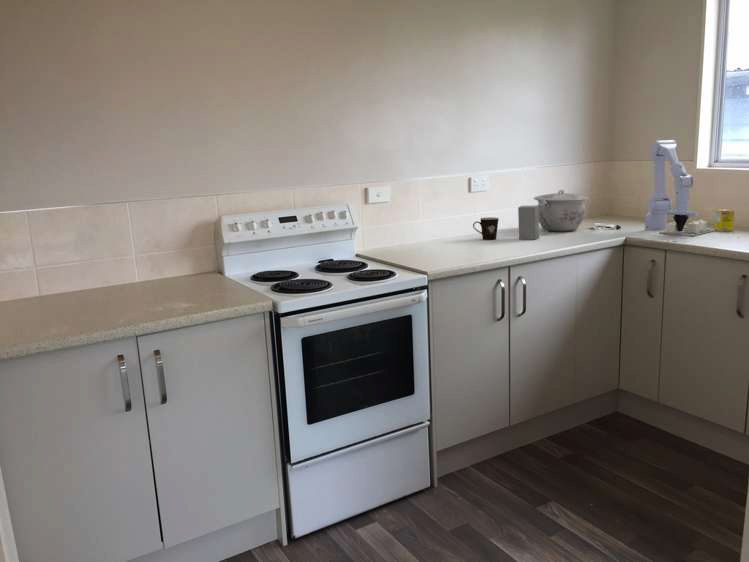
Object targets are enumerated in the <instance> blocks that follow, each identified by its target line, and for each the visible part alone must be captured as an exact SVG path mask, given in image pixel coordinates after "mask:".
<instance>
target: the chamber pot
mask: <svg viewBox="0 0 749 562" xmlns="http://www.w3.org/2000/svg"><path fill="white" fill-rule="evenodd" d="M589 198H590V197H589V196H587V195H583V194H576V193H568V192H565V191H564V189H560V190H558V192H557V193H556V192H555V193H546V194H543V195H537V196H534V197H533V200H534V201H537V202H538V203H537V205H538V216H539V226H540V227H541V228H542V229H544V230H546V231H549V232H557V233H558V232H561V233H562V232H566V233H567V232H572V231H574V230H577V229H579V227H580V226H581V224H582V223H583V221H584V220H585V216H586V212H587V211H586V205H585V203H584V202H585V201H586V200H589Z"/></svg>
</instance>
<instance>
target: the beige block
mask: <svg viewBox="0 0 749 562" xmlns="http://www.w3.org/2000/svg"><path fill="white" fill-rule="evenodd" d="M697 221H698V220H697ZM697 221H696V220H694V221H691V222H688V223H687V229H686V230H687V232H695V233H700V223H696V222H697Z"/></svg>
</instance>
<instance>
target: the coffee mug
mask: <svg viewBox="0 0 749 562" xmlns="http://www.w3.org/2000/svg"><path fill="white" fill-rule="evenodd" d="M499 219H500V218H499V217H493V216H491V217H489V216H488V217H487V216H486V217H481V218H480V221H474V222H473V223H472V224H473V225H472V227H473V229H474V230H475V231H476V232H478V233H480V234H481V236H482V240H483V241H495V240H497V234H498V226H499ZM477 223H478V224H479V225H480V228H481V231H480V230H478V229H477V228H476V226H475V225H476V224H477Z"/></svg>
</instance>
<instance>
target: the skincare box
mask: <svg viewBox="0 0 749 562" xmlns="http://www.w3.org/2000/svg"><path fill="white" fill-rule="evenodd" d="M517 209H518V210H517V211H518V212H517V215H518V240H537V239H539V238H540V228H539V227H540V223H539V216H538V204H537V205H520V206H519V207H518V208H517Z"/></svg>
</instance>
